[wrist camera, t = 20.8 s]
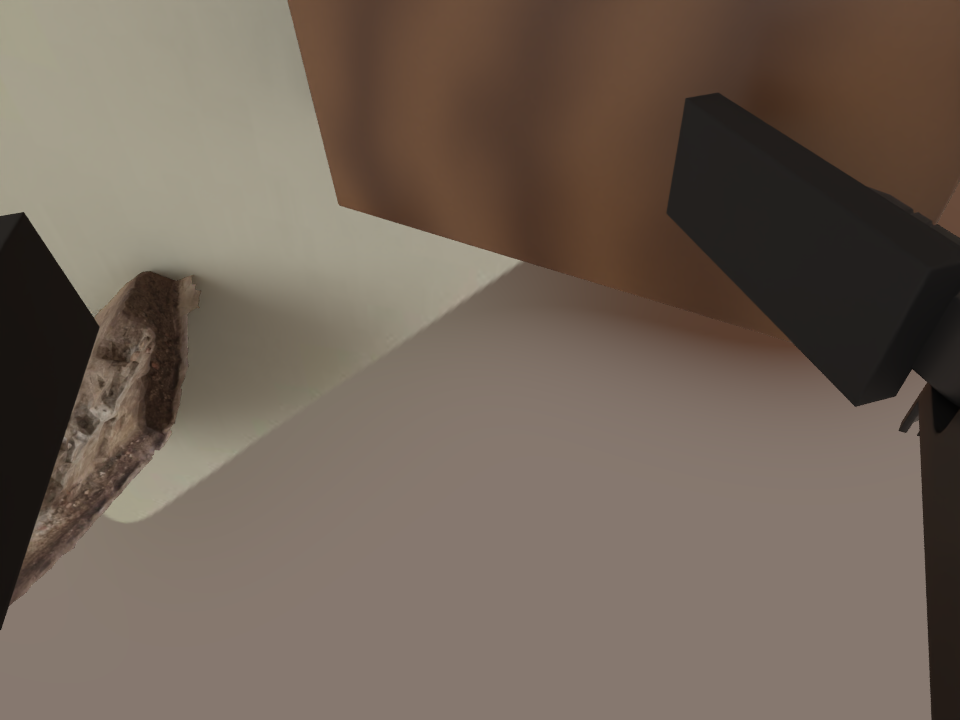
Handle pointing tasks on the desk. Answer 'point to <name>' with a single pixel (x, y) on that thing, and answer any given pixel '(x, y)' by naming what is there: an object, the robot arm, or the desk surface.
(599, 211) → the lid
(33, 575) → the mineral sample
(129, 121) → the desk surface
